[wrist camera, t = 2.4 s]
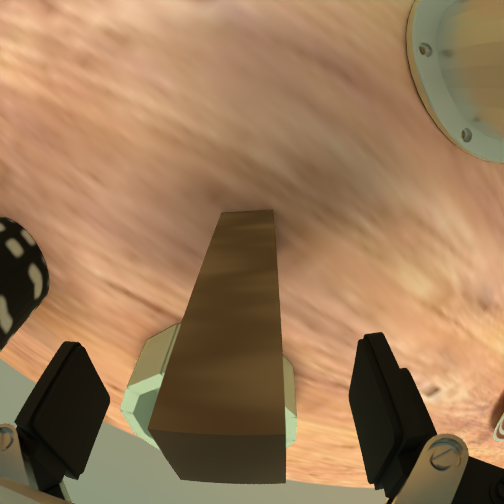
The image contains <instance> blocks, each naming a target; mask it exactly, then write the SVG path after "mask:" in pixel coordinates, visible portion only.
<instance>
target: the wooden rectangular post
mask: <svg viewBox="0 0 504 504" xmlns="http://www.w3.org/2000/svg"><path fill="white" fill-rule="evenodd" d="M147 429H148V431H149V432H150V434H151V436H152V437H153V439H154V441H155V442H156V444H157V445H158V447H159V448H160V450H161V451H162V453H163V454H164V456H165V458H166V459H167V461H168V462H169V464H170V465H171V466H172V468H173V469H174V471H175V472H176V473H177V475H178V476H179V478H180V479H181V480H189V481H200V482H214V483H232V484H233V483H234V484H278V483H286V420H285V395H284V373H283V353H282V334H281V317H280V300H279V284H278V269H277V254H276V240H275V226H274V213H273V210H259V211H243V212H228V213H221V216H220V218H219V221H218V224H217V226H216V229H215V232H214V234H213V237H212V240H211V242H210V245H209V248H208V250H207V253H206V256H205V258H204V261H203V264H202V267H201V269H200V272H199V275H198V278H197V280H196V283H195V286H194V289H193V291H192V294H191V297H190V300H189V303H188V306H187V308H186V311H185V314H184V317H183V320H182V323H181V326H180V329H179V332H178V335H177V337H176V340H175V343H174V346H173V349H172V352H171V355H170V358H169V361H168V364H167V368H166V371H165V374H164V377H163V380H162V383H161V386H160V389H159V392H158V396H157V399H156V402H155V405H154V408H153V412H152V415H151V418H150V421H149V425H148V428H147Z"/></svg>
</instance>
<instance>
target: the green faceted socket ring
mask: <svg viewBox="0 0 504 504" xmlns="http://www.w3.org/2000/svg"><path fill="white" fill-rule="evenodd" d="M180 326H181V323H179V325H178V324H176V325H174V326H172V327H170V328H168V329H166V330H165V331H163V332H161V333H159V334H157V335H155V336H153V337H152V338H150V339H148V340H147V341H146V343H145V345H144V347H143V350H142V352H141V354H140V357H139V359H138V361H137V364H136V366H135V368H134V371H133V373H132V375H131V378H130V380H129V383H128V385H127V388H126V391H125V394H124V398H123V401H122V405H121V408H120V410H121V413H122V414H123V416H124V417H125V419H126V421H127V422H128V424H129V425H130V427H131V428H132V430H133V431H134V433H136V435H138V436H139V437H140V438H142V439H143V440H145V441H146V442H148V443H149V444H151V445H153V446H154V447H156V448H157V449H159V450H160V448H159V447H158V445H157V444H156V442H155V441H154V439H153V437H152V436H151V434H150V432H149V431H148V429H147V428H148V425H149V421H150V418H151V415H152V412H153V408H154V405H155V402H156V399H157V396H158V392H159V389H160V386H161V383H162V380H163V377H164V374H165V371H166V368H167V364H168V361H169V358H170V355H171V352H172V349H173V346H174V343H175V340H176V337H177V335H178V332H179V329H180ZM283 373H284V395H285V420H286V448H288V447H289V446H290V445H291V444H293V443H294V442H295V440H296V429H297V410H296V396H295V383H294V370H293V366H292V364H291V363H290V362H289V361H288V360H287V359H286V358H285V357H284V356H283Z"/></svg>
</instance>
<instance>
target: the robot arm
mask: <svg viewBox="0 0 504 504" xmlns="http://www.w3.org/2000/svg"><path fill="white" fill-rule="evenodd" d="M406 39H407V55H408V59H409V64H410V69H411V74H412V77H413V79H414V82H415V85H416V88H417V91H418V94H419V95H420V97H421V99H422V101H423V103H424V105H425V107H426V109H427V111H428V113H429V114H430V116H431V117H432V119H433V120H434V122H435V123H436V125H437V126H438V128H439V129H440V130H441V131H442V132H443V133H444V134H445V135H446V136H447V137H448V139H449V140H450V141H451V142H453V143H454V144H455V145H456V146H458V147H459V148H460V149H462V150H463V151H465V152H467V153H469V154H470V155H472V156H474V157H476V158H480V159H483V160H485V161H488V162H494V163H504V0H416V1H415V3H414V4H413V6H412V9H411V12H410V15H409V18H408V25H407V34H406ZM419 48H420V49H421V51H422V54H421V53H420V50H419ZM349 403H350V407H351V411H352V415H353V419H354V423H355V427H356V431H357V435H358V439H359V443H360V448H361V452H362V456H363V461H364V465H365V470H366V474H367V479H368V482H369V484H373V483H374V486H375V490H379V489H384V491H385V496H386V497H387V498H388V499H387V501H386V503H385V504H504V469H503V468H500V467H497V466H494V465H491V464H489V463H486V462H483V461H481V460H478V459H475V458H473V457H470V456H469V453H468V448H467V446H466V444H465V442H464V441H463V440H462V439H460V438H459V437H457V436H455V435H452V434H439V435H437V432H436V430H435V428H434V425H433V423H432V420H431V418H430V416H429V413H428V411H427V409H426V406H425V404H424V402H423V400H422V397H421V395H420V393H419V391H418V389H417V386H416V384H415V382H414V380H413V378H412V376H411V373H410V372H409V370H408V369H407V368H399V366H398V364H397V362H396V359H395V357H394V355H393V353H392V351H391V349H390V346H389V344H388V342H387V340H386V338H385V336H384V334H383V333H382V332H378V333H371V334H365V335H364V338H363V339H360V340H359V341H358V346H357V352H356V358H355V363H354V369H353V374H352V379H351V384H350V389H349ZM109 404H110V396H109V394H108V392H107V390H106V388H105V387H104V385H103V383H102V381H101V379H100V377H99V375H98V374H97V372H96V370H95V368H94V366H93V364H92V362H91V360H90V358H89V356H88V354H87V352H86V349H85V348H84V347H82V345H81V344H80V343H79V342H69V341H65V342H64V343H63V344H62V345H61V346H60V348H59V349H58V351H57V352H56V354H55V355H54V357H53V359H52V360H51V362H50V363H49V365H48V366H47V368H46V369H45V371H44V373H43V374H42V376H41V377H40V379H39V381H38V382H37V384H36V386H35V388H34V389H33V390H32V392H31V394H30V395H29V397H28V399H27V401H26V402H25V404H24V406H23V407H22V409H21V411H20V413H19V415H18V416H17V418H16V420H15V423H16V425H17V428H16V429H15V428H14V427H13V426H12V425H10V424H0V504H74V503H72V502H71V499H70V497H69V494H68V492H67V489H66V487H65V484H64V482H63V477H64V475H65V476H66V477H69V478H72V479H76V480H78V478H79V476H80V474H82V473H83V472H84V470H85V467H86V464H87V461H88V459H89V456H90V453H91V450H92V448H93V445H94V442H95V440H96V437H97V434H98V432H99V429H100V427H101V424H102V422H103V419H104V416H105V414H106V411H107V409H108V406H109Z"/></svg>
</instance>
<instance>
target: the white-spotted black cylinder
mask: <svg viewBox="0 0 504 504" xmlns="http://www.w3.org/2000/svg"><path fill="white" fill-rule="evenodd" d="M48 289H49V277H48V271H47V267H46V263H45V261H44V258H43V256H42V253H41V251H40V250H39V248H38V246H37V244H36V243H35V241H34V240H33V239H32V237H31V236H30V235H29V234H28V232H27V231H26V230H25V229H24V228H23V227H21V226H20V225H19V224H18V223H16V222H14V221H12V220H10V219H7V218H0V352H1V350H2V349H3V348H4V346H5V345H6V344H7V343H8V341H9V340H10V339H11V338H12V336H13V335H14V334H15V333H16V332H17V330H18V329H19V328H20V327H21V326H22V324H23V323H24V322H25V321H26V320H27V318H28V317H29V316H30V315H31V314H32V313H33V312H34V310H35V309H36V308H37V307H38V306H39V305H40V304H41V302H42V301H43V300H44V299H45V297H46V295H47V292H48Z"/></svg>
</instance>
